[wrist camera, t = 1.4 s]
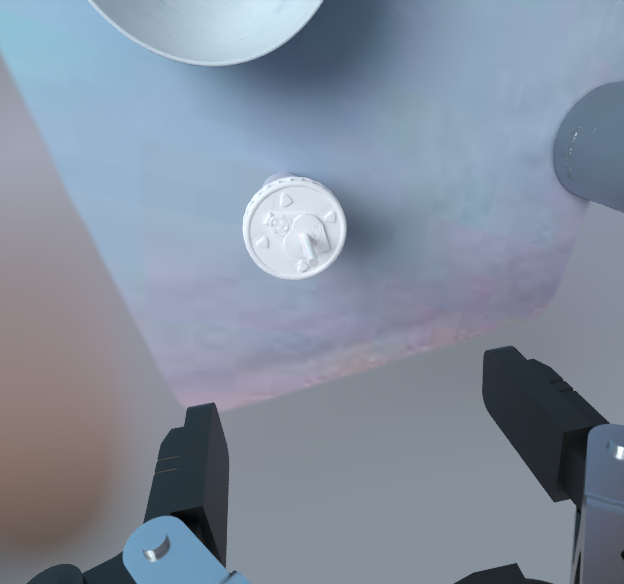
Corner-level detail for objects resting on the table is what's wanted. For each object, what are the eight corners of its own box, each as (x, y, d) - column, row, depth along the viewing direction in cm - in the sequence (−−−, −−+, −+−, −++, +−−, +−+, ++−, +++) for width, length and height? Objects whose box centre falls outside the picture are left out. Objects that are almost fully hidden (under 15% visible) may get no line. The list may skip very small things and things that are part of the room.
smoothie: (299, 246, 39) (327, 329, 26) (229, 213, 37) (221, 284, 24) (338, 178, 37) (387, 231, 24) (265, 138, 35) (277, 174, 22)
